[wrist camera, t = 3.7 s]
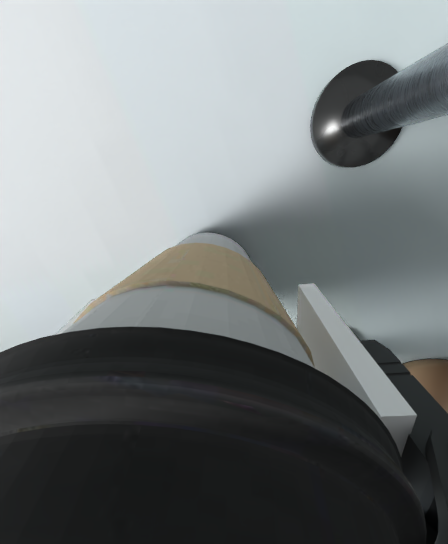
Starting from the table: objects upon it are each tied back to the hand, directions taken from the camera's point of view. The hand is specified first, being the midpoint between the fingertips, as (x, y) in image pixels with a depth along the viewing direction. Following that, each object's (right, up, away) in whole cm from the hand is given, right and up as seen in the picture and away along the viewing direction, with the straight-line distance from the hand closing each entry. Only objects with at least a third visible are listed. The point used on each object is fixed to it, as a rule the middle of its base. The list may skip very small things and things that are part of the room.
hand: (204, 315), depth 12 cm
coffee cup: (0, +2, +5) cm, 6 cm away
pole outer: (+9, +11, +2) cm, 14 cm away
